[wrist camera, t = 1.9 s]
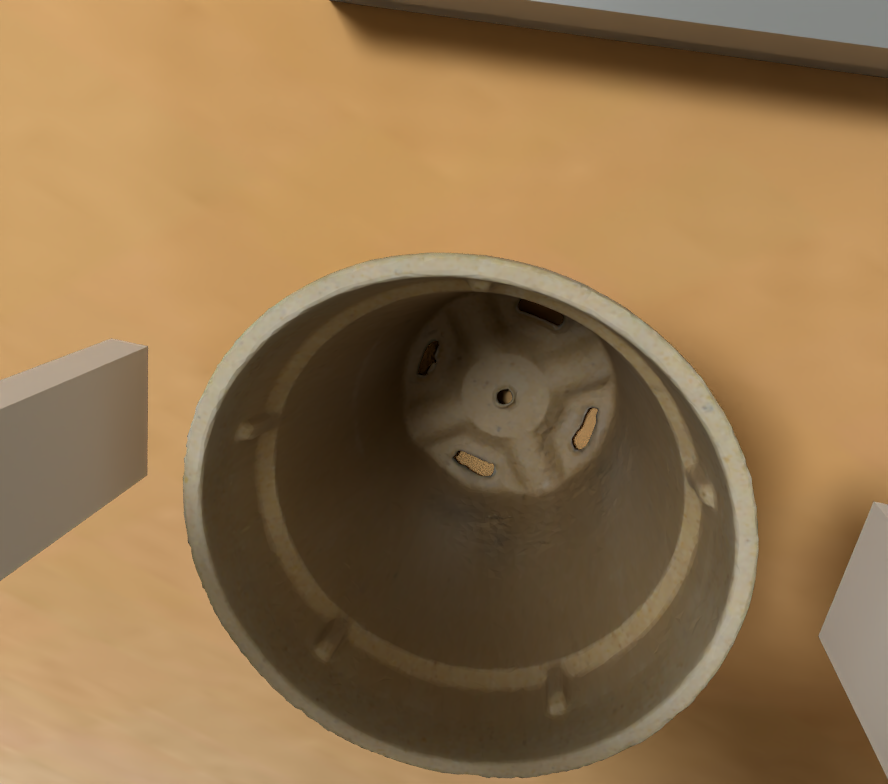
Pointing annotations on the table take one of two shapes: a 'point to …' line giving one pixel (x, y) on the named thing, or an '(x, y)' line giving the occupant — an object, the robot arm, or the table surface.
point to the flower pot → (470, 516)
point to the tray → (700, 26)
